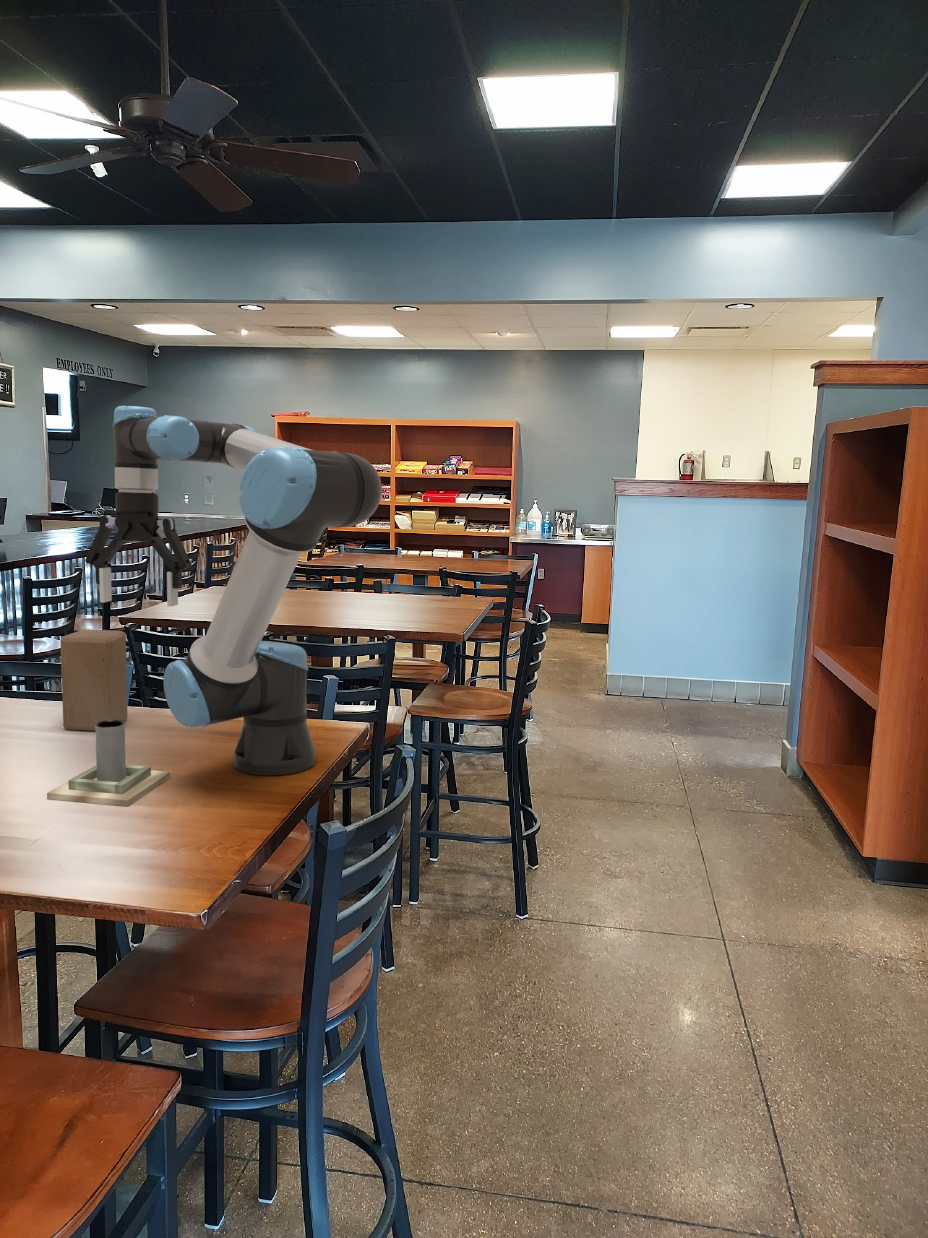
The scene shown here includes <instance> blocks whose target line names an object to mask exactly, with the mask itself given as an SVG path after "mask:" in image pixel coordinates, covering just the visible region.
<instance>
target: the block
mask: <svg viewBox="0 0 928 1238" xmlns="http://www.w3.org/2000/svg"><path fill="white" fill-rule="evenodd" d="M60 665H61V671H60V672H61V692H62V693H61V695H62V720H63V721H62V725H63V726H62V727H63V728H64V729H65V730H69V731H88V732H92V731H93V732H96V731H95V725H96V724H97V723H98V722H101V721H106V720H120V721H123V722H124V723H125V721H127V719H128V715H129V714H128V683H127V681H128V679H127V678H128V677H127V675H128V674H127V637H126V632H124V631H122V630H107V629H87V628H86V629H85V628H84V629H81V630H78V631H75V632H73V633H69V634H67V635H63V636H61V637H60Z"/></svg>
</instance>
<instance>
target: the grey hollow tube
mask: <svg viewBox="0 0 928 1238" xmlns="http://www.w3.org/2000/svg"><path fill="white" fill-rule="evenodd" d="M125 729H126V724H125V721H124V722H123V721H120V720H106V721H101V722H98V723H97V724H96V725H95V731H94V732H95V755H96V756H95V757H96V758H95V761H96V763H95V765H97V780H99V781H110V782H120V781H122V780H123V779H125V778H126V765H127V761H126V730H125Z"/></svg>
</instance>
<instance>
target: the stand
mask: <svg viewBox="0 0 928 1238" xmlns="http://www.w3.org/2000/svg"><path fill="white" fill-rule="evenodd" d="M169 778H171V772H170V771H162V770H161V771H160V770H152V767H151V766H145V765H134V764H133V765H132V764H126V778H125V779H123V780H122V781H120V782H110V781H99V780H97V764H95V765H94V766H92V767H90V768H88V769H86V770H85V771H83V772H80V774H78V775H76V776H74V777H72V778H71V779H68V781H66V782H64V783H63V784H60V785H59V786H57V787H55V788H53V789H52V790H50V791H48V792H47V793H46V800H54V801H55V800H57V801H66V802H67V801H68V802H75V803H77V802H78V803H86V804H97V805H98V804H99V805H109V806H120V807H129V806H131V805H132V804H133V803H135V802H136V801H138V800H139V799H140V798H142V797H144V796H145V795H146V794H148V793H149V792H151V791H152V790H154V789H155V788H157V787H158V786H160V785H161V784H163V782H165V781H167V780H169Z"/></svg>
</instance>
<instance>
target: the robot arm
mask: <svg viewBox="0 0 928 1238" xmlns="http://www.w3.org/2000/svg"><path fill="white" fill-rule="evenodd" d="M112 430H113V449H114V450H113V453H114V488H115V489H116V490H118V492H117V491H116V492H115V493H114V494H115V495H114V496H115V511H116V516H115V517H113V516H112V515H102V516H100V518H99V527H98V530H97V532H96V535H95V537H94V538H93V542H92V543H91V545H90V547H89V549H88V552H87V555H85V556H86V557H85V559H84V562H85V563H86V564H87V565H88V564H89V565H91V566H93V567H94V569H95V570H94V571H95V582H96V585H99V602H100V603H107V602H112V601H113V600H112V599H113V597H112V567H110V566H109V563H110V562H111V561H112V559H113V558H114V557H115V556H116V554H117V553H118V552H119V551H120V549H121V548H122V547H123V545H124V544H125V543H127V542H134V541H136V542H139V543H140V542H145V543H146V542H147V543H148V544H150V546H151V547H152V548H153V549H154V551H155V552H156V553H157V555H159V556H160V558H161V559H162V561H163V562H164V563H165V564H166V566H167V567H168V568H169V569H170V571H167V572H166V588H167V589H166V596H167V599H166V600H167V603H166V604H167V607H174V606H178V605H179V589H181V588H182V586H183V583H182V582H183V577H182V576H183V575H182V574H183V571H184V570H187V569H190V568H192V566H193V564H192V562H191V560H190V557H189V556H188V553H187V551H186V549H185V546H184V545H183V543H182V540H181V539H180V536H179V535H178V532H177V530H176V521H175V519H174V518H164V519H160V518H159V515H158V514H159V509H160V508H159V495H158V493H155V491H158V490H159V477H158V476H159V471H158V470H159V466H158V465H159V464H158V462H159V461H158V460H165V461H180V462H181V461H182V462H198V463H214V464H223V465H226V466H229V467H231V468H235V469H237V470H240V471H243V473H242V476H241V478H240V483H239V491H241V495H240V496H239V505H240V509H241V512H242V513H243V515H244V523H245V525H246V527H247V528H248V530H249V532H248V534H247V536H246V538H245V541H244V543H243V545H242V548H241V551H240V552H239V556H238V557H237V560H236V562H235V565H234V567H233V570H232V572H231V574H230V576H229V579H228V582H227V584H226V587H225V588H224V591H223V593H222V597H221V599H220V600H219V604H218V606H217V608H216V610H215V613H214V615H213V618H212V620H211V622H210V625H209V627H208V630H207V632H206V635H205V636H201V637H199V638H197V639H196V640H195V641H193V643H192V644H191V647H190V649H189V650H188V653H187V656H186V658H185V659H183V660H181V659H177V660H175V661H172V662H170V663H168V665H167V666H166V667H165V669H164V674H163V691H164V695H165V699H166V703H167V706H168V708H169V711H170V712H171V714H172V715H173V717H174V719H175V720H176V721H177V722H178V723H179V724H181V725H182V726H184V727H185V728H186V727H187V728H188V727H189V728H196V727H208V726H210V725H213V724H219V723H222V722H223V723H224V722H228V721H232V720H237V719H241V718H243V724H242V728H241V730H240V733H239V737H238V739H237V742H236V745H235V749H234V753H233V766H234V767H235V769H237V770H239V771H240V772H243V773H247V774H250V775H251V774H252V775H257V776H282V775H283V776H285V775H290V774H295V773H300V772H303V771H306V770H308V769H310V768H312V767H313V766H314V765H315V764H316V753H317V751H316V748H315V744H314V741H313V739H312V736H311V732H310V729H309V726H308V722H307V721H308V720H307V716H308V715H307V711H308V710H307V706H308V704H307V703H308V701H307V700H308V699H307V698H308V697H307V696H308V672H309V668H308V655H307V651H306V650H305V649H304V647H301V646H299V645H296V644H293V643H285V642H278V641H270V640H269V641H267V640H263V638H264V637H265V636H264V635H265V633H266V632H267V629H268V627H269V625H270V623H271V621H272V618H273V616H274V614H275V612H276V610H277V607H278V605H279V603H280V601H281V599H282V597H283V594H284V592H285V590H286V588H287V586H288V583H289V581H290V580H291V577H292V575H293V572H294V571H295V569H296V566H297V564H298V562H299V560H300V557H301V556H302V554H304V553H309V552H311V551H313V550H314V549H315V548H316V547H317V545H318V543H319V540H320V539H321V536H322V534H323V532H324V531H325V529H327V528H348V527H353V526H357V525H359V524H362V523H364V522H365V521H367V520H368V519H370V517H371V516H372V515H374V514H375V512H376V510H377V508H378V507H379V505H380V502H381V500H382V493H383V486H382V480H381V477H380V475H379V473H378V471H377V469H376V467H374V465H373V464H372V463H371V462H369V461H368V460H367V459H365V458H364V457H362V456H360V455H358V454H355V453H354V454H353V453H350V452H340V451H325V450H314V449H311V448H307V447H304V446H301V445H297V444H295V443H292V442H288V441H285V440H282V439H279V438H276V437H272V436H269V435H267V434H262V433H260V432H256V430H255V429H254V428H253V427H251V426H249V425H244V424H242V423H241V424H239V423H225V422H214V421H206V420H201V419H200V420H199V419H189V418H186V417H184V416H178V415H170V414H165V415H163V416H158V415H157V411H156V410H155V409H154V408H152V407H146V406H138V405H137V406H135V405H118V406H116V408H114V410H113V424H112ZM114 527H117V529H118V531H117V532H116V533H115V534H114V536H113V537H112V538H113V539H112V540H110V543H108V545H107V546H106V544H107V542H108V540H109V538H110V536H111V533H112V530H113V528H114ZM159 528H160V529H161V531H163V534H164V536H165V537H166V538H165V539H166V540H167V543H168V544H169V547H170V548H171V550H170V548H169V547H168V546H167V545H166V543H165V542H164V541H163V537H161V535H160V534H159V532H158V530H159ZM105 546H106V547H105Z"/></svg>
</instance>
